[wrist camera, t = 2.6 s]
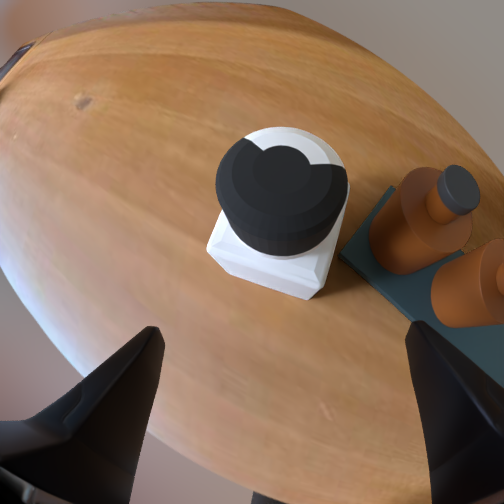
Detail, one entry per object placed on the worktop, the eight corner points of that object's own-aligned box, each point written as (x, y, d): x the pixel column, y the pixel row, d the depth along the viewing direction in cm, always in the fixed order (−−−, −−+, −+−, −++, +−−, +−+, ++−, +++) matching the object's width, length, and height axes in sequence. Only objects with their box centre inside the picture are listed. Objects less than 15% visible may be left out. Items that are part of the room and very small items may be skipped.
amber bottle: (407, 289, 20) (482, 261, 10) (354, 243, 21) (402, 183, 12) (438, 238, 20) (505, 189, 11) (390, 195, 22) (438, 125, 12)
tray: (489, 402, 16) (494, 403, 15) (337, 255, 22) (339, 252, 21) (522, 335, 17) (527, 335, 16) (387, 190, 23) (390, 185, 22)
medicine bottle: (309, 301, 21) (343, 274, 10) (226, 273, 23) (173, 219, 11) (333, 222, 23) (372, 133, 11) (255, 198, 24) (235, 99, 13)
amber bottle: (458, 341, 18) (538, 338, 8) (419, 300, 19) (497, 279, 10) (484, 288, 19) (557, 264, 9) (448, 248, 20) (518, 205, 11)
